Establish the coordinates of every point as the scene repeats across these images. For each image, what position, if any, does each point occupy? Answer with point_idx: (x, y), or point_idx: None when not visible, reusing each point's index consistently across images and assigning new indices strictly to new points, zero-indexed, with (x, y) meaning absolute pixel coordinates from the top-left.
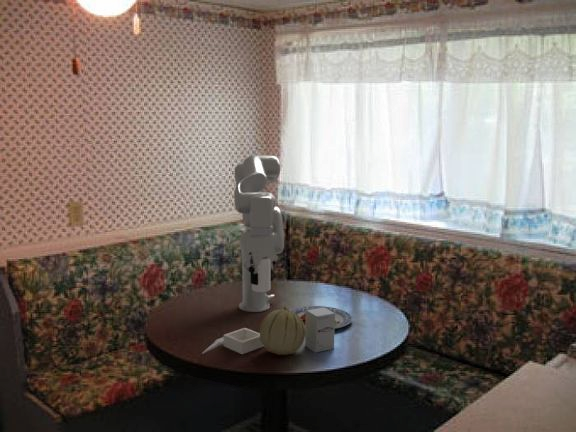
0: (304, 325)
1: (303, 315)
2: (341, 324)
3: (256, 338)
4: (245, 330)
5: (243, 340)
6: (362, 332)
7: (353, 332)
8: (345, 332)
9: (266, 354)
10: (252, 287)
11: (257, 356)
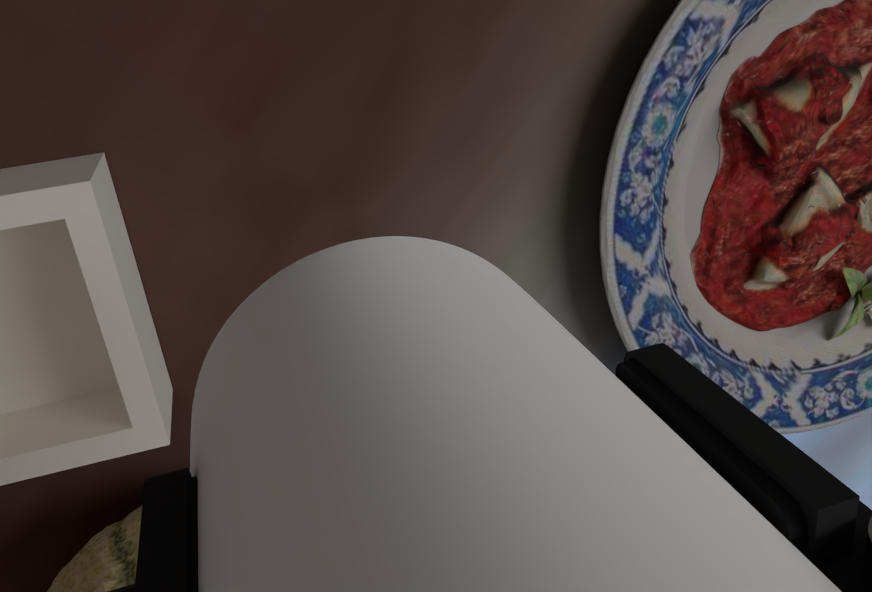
0: (704, 199)
1: (814, 106)
2: (842, 394)
3: (69, 463)
4: (70, 225)
5: (33, 241)
6: (845, 477)
7: (815, 455)
8: (787, 434)
9: (107, 523)
10: (191, 426)
11: (19, 527)
